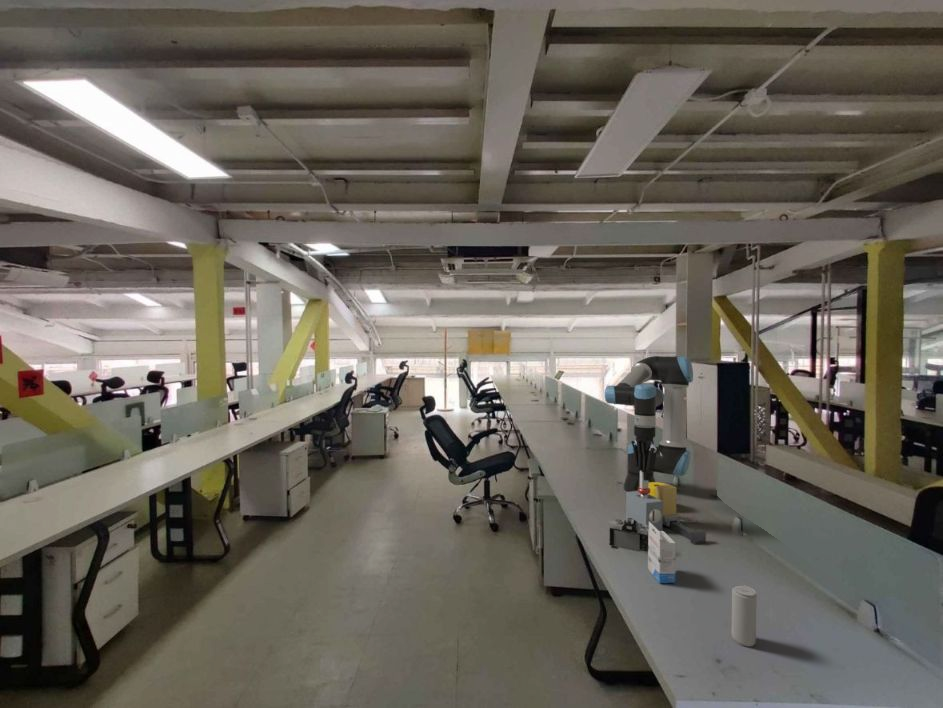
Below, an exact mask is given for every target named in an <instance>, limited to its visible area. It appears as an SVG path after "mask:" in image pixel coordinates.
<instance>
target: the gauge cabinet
mask: <svg viewBox="0 0 943 708" xmlns="http://www.w3.org/2000/svg"><path fill="white" fill-rule="evenodd" d="M625 493H626V494H625V520H626V519H627V518H633V519H634V520H636V521H637V522H638V523H641V524H643V526H644V525H648V526H649V522H650V523H651V524H652V525H653V526H654V527H655V528H656V529H657V530H658V531H663V524H662V518H663V501H661V500H659V499H657V498H656V497H654V496H652V495H650V494H648V498H646V499H642V498H640V492H638V491H632V492H627V491H625Z"/></svg>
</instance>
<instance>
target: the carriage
mask: <svg viewBox="0 0 943 708" xmlns="http://www.w3.org/2000/svg"><path fill="white" fill-rule="evenodd" d="M656 498H657V499H659V500H661V501H663V518H662V523H663V524H662V525H664V526H665V525H666V527H667V526H670V521H677V522H678V523H680V521H681V520H682V515H680V514H679V513H677V487H676V486H674V485H672V484H670V483H669V484H668V485H658V486H656Z"/></svg>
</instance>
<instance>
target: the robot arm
mask: <svg viewBox="0 0 943 708" xmlns="http://www.w3.org/2000/svg"><path fill="white" fill-rule="evenodd" d="M693 370H694V369H693V364H692V361H691V359H690V358H689V357H686V356H679V355H678V356H676V355H675V356H674V355H673V356H671V355H670V356H667V355H664V356H663V355H652V356H648V357H645V358H643V359H640V360H639V361H637V362H635V363H634V364H633V365H632V367H631V369H630V372H628V373H627V375H625V376H624V378H623V379H621V381H619V382H618V383H617V385H607V386H606V387H605V389H604V400H605V402H606V403H607V404H612V405H619V406H620V405H621V406H632V407H633V406H634V408H633V409H634V413H633V414H634V419H633V421H634V426H633V435H634V436H635V440H631V442H630V443H629V444H628V446H627V452H626V453H627V474H626V477H625V480H624V483H623V490H624V491H625V492H632V491H638V487H640V488H641V489H646V488H648V483H649V482H656V479H655V476H654V475H655V473H659V474H667V475H671V476H677V477H683V476H685V475H686V474H687V472H688V469H689V466H690V463H691V462H690V461H691V451H690V450H687V445H686V444H685V443H684V425H685V424H684V423H685V422H684V421H685V419H684V418H685V416H684V415H685V396H686V395H685V391H686V389H687V388H688V387H689V384H690V383H693V380H694V372H693ZM649 381H660V384H661V386H662V387H663V389H664V391H663V390H662V389H660V388H659V387H656V385H653V384H644V383H647V382H649ZM662 404H663V411H662V412H663V415H662V416H663V417H662V436H661V437H662V439H661V441H660V442H658V446H656V445H655V443H654V438H655V437H656V427H655V426H656V424H657V423H656V422H657V421H656V420H657V418H656V417H657V415H656V414H657V413H656V409H657V407H659V406H661V405H662Z"/></svg>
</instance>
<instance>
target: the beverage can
mask: <svg viewBox="0 0 943 708" xmlns="http://www.w3.org/2000/svg"><path fill="white" fill-rule="evenodd" d="M757 596H758V595H757V592H756V590H755V589H753V588H752V587H750V586H748V585H745V584H734V585H733V586H732V589H731V629H730V630H731V635H730V636H731V637H732V639H733V640H734V641H735V643H737V644H739V645H741V646H744V647H753V646H754V645H755V644H756V642H757V641H756V640H757V603H758V602H757V599H758V597H757Z"/></svg>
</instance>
